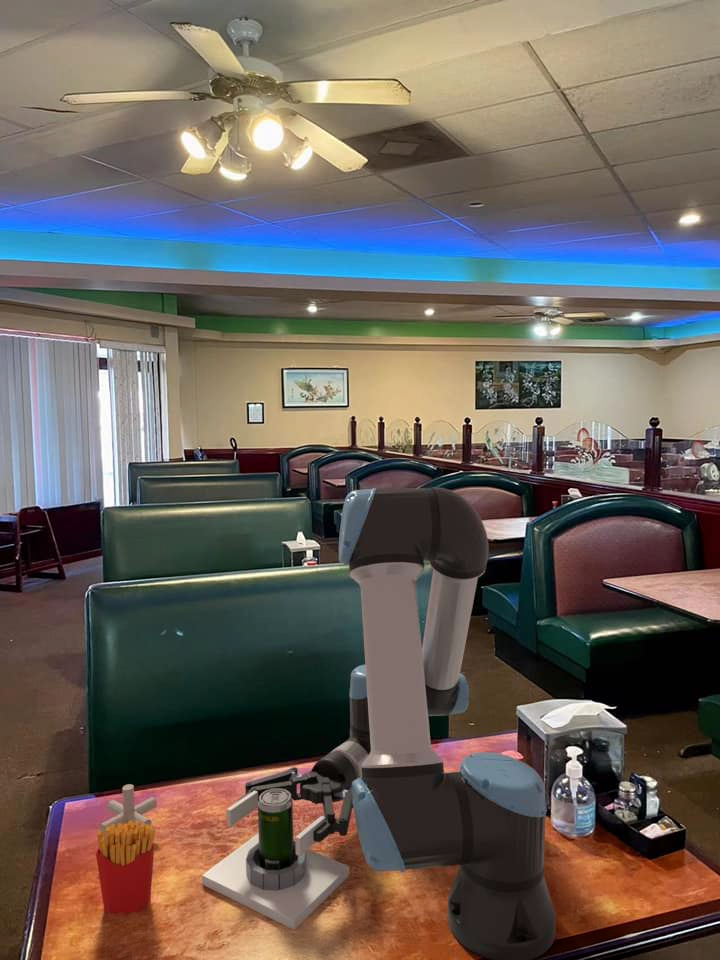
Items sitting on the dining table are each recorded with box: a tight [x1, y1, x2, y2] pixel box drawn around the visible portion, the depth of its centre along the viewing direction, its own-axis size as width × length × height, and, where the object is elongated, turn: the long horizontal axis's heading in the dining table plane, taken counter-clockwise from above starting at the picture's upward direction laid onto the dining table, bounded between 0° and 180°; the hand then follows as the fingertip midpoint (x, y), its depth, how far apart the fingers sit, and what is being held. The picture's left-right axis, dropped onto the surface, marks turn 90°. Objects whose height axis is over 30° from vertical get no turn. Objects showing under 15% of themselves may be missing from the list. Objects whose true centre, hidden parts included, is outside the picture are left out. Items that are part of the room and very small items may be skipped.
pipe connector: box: [99, 783, 158, 836], centre depth 119 cm, size 10×10×10 cm
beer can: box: [257, 788, 294, 870], centre depth 109 cm, size 5×5×12 cm
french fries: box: [95, 820, 157, 914], centre depth 104 cm, size 8×4×12 cm, turn 93°
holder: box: [201, 832, 350, 931], centre depth 109 cm, size 18×14×4 cm
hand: (261, 832), depth 106 cm, fingers open, 13 cm apart
